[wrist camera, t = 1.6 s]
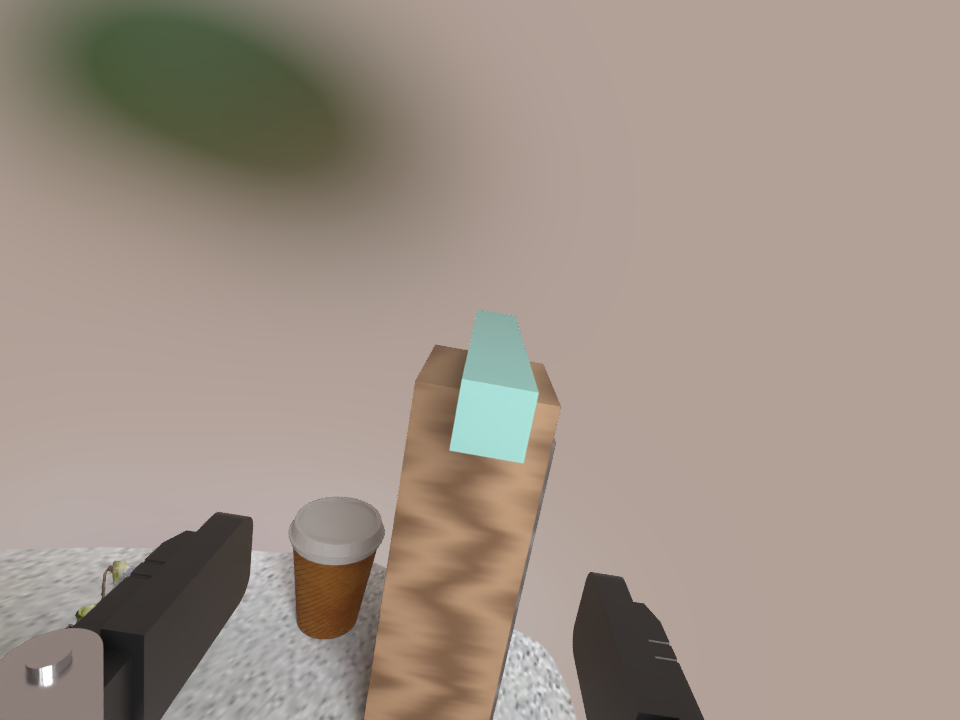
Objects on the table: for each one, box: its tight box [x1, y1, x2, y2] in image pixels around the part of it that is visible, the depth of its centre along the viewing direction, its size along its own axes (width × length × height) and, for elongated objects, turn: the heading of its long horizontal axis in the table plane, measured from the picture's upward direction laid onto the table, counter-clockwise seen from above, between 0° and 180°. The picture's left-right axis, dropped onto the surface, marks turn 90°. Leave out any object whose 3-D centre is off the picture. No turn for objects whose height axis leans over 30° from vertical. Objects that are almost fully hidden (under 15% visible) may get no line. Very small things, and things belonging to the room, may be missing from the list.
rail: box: [449, 310, 539, 463], centre depth 35 cm, size 4×24×4 cm, turn 178°
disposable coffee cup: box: [289, 497, 385, 639], centre depth 52 cm, size 10×10×12 cm
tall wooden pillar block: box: [364, 345, 561, 720], centre depth 43 cm, size 10×12×32 cm
